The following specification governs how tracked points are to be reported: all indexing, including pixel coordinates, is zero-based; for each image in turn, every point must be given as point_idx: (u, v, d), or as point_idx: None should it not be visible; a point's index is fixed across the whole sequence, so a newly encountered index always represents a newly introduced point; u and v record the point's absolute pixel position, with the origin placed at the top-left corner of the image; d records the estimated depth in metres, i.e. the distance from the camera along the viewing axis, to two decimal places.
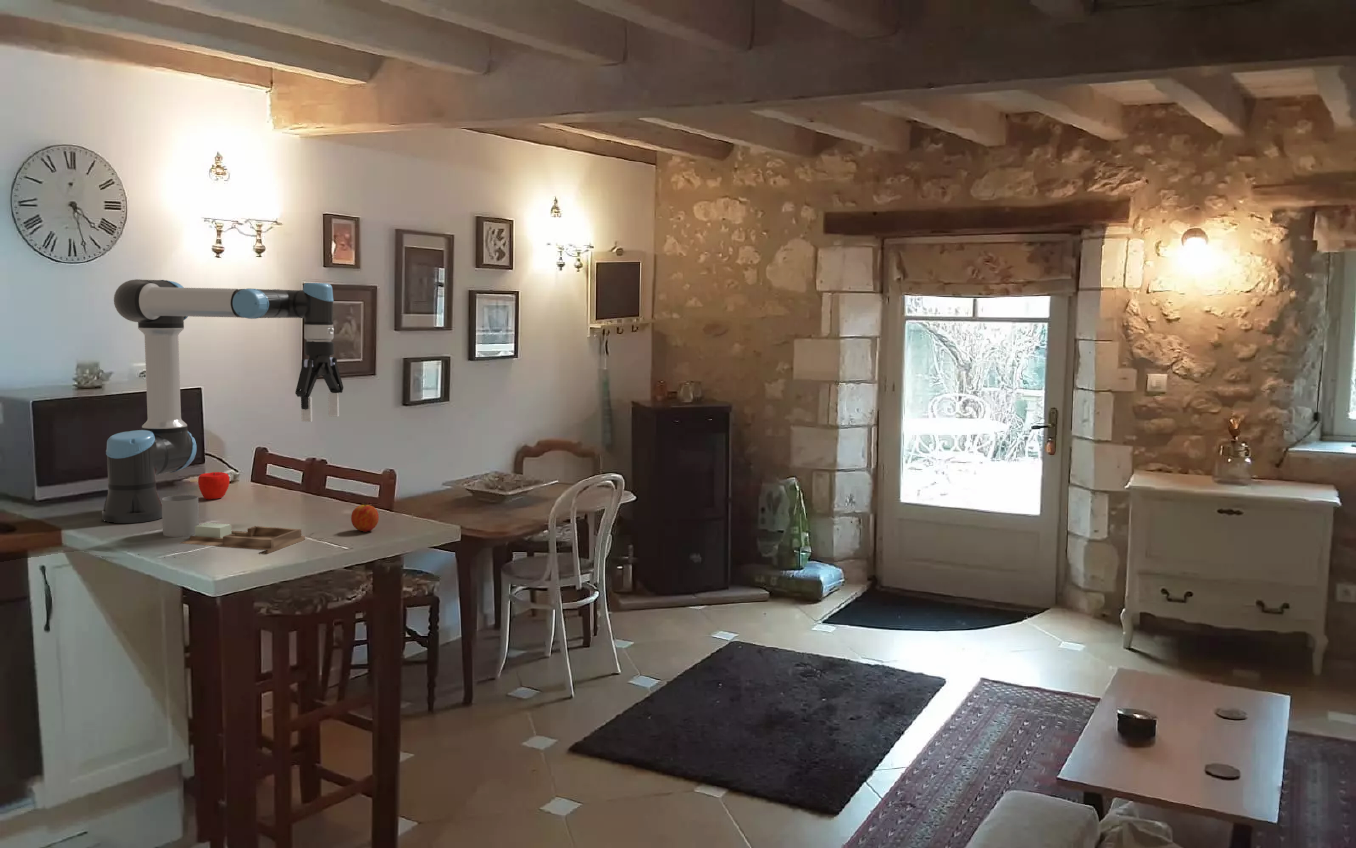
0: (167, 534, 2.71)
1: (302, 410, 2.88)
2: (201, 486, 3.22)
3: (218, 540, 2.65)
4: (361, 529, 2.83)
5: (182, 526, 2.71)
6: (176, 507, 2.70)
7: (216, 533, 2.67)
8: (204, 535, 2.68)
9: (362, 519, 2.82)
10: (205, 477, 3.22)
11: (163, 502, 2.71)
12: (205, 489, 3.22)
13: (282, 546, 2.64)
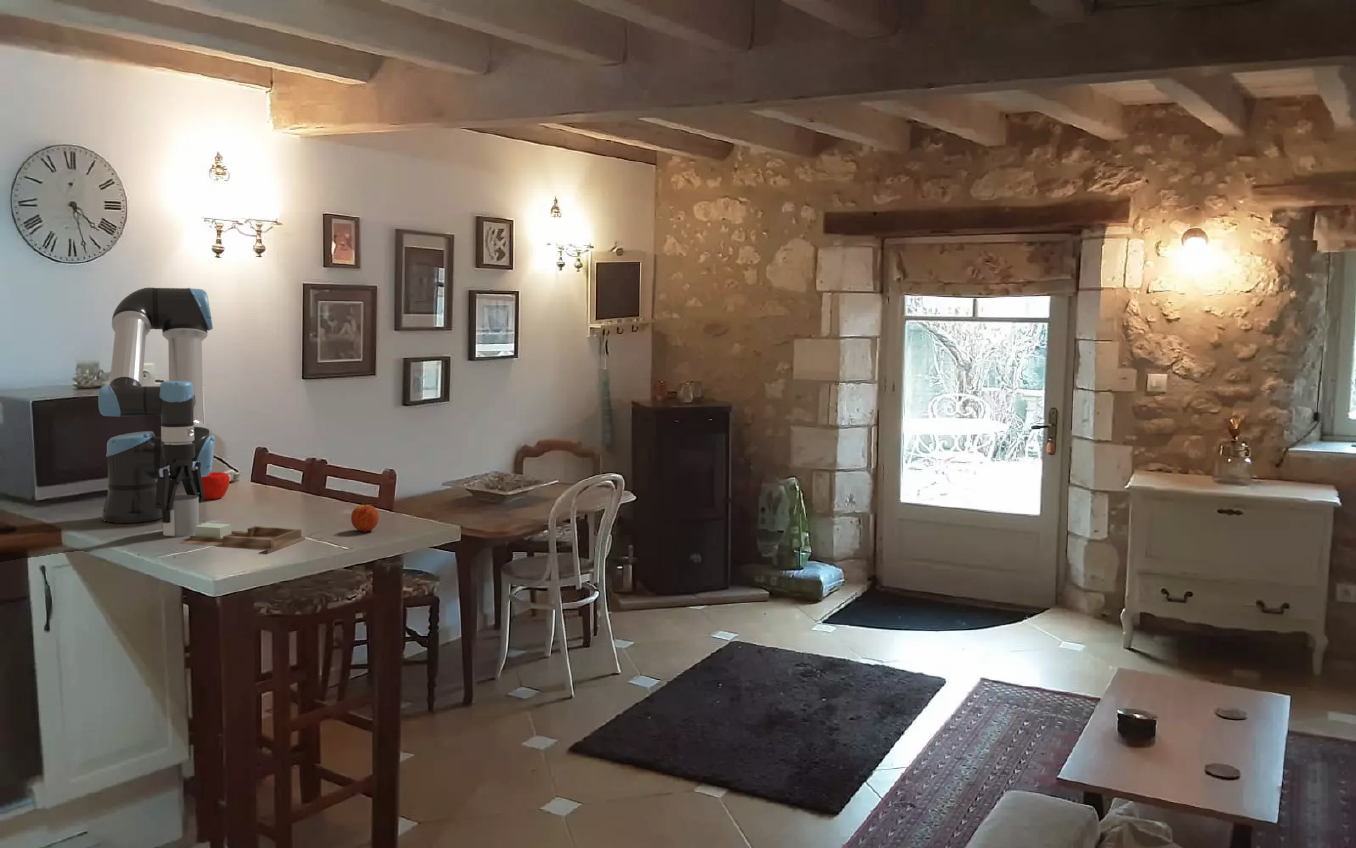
0: None
1: (164, 524, 2.70)
2: None
3: (218, 540, 2.65)
4: (361, 529, 2.83)
5: (182, 526, 2.71)
6: (176, 506, 2.70)
7: (216, 533, 2.67)
8: (204, 535, 2.68)
9: (362, 519, 2.82)
10: (205, 477, 3.22)
11: None
12: (205, 489, 3.22)
13: (282, 546, 2.64)
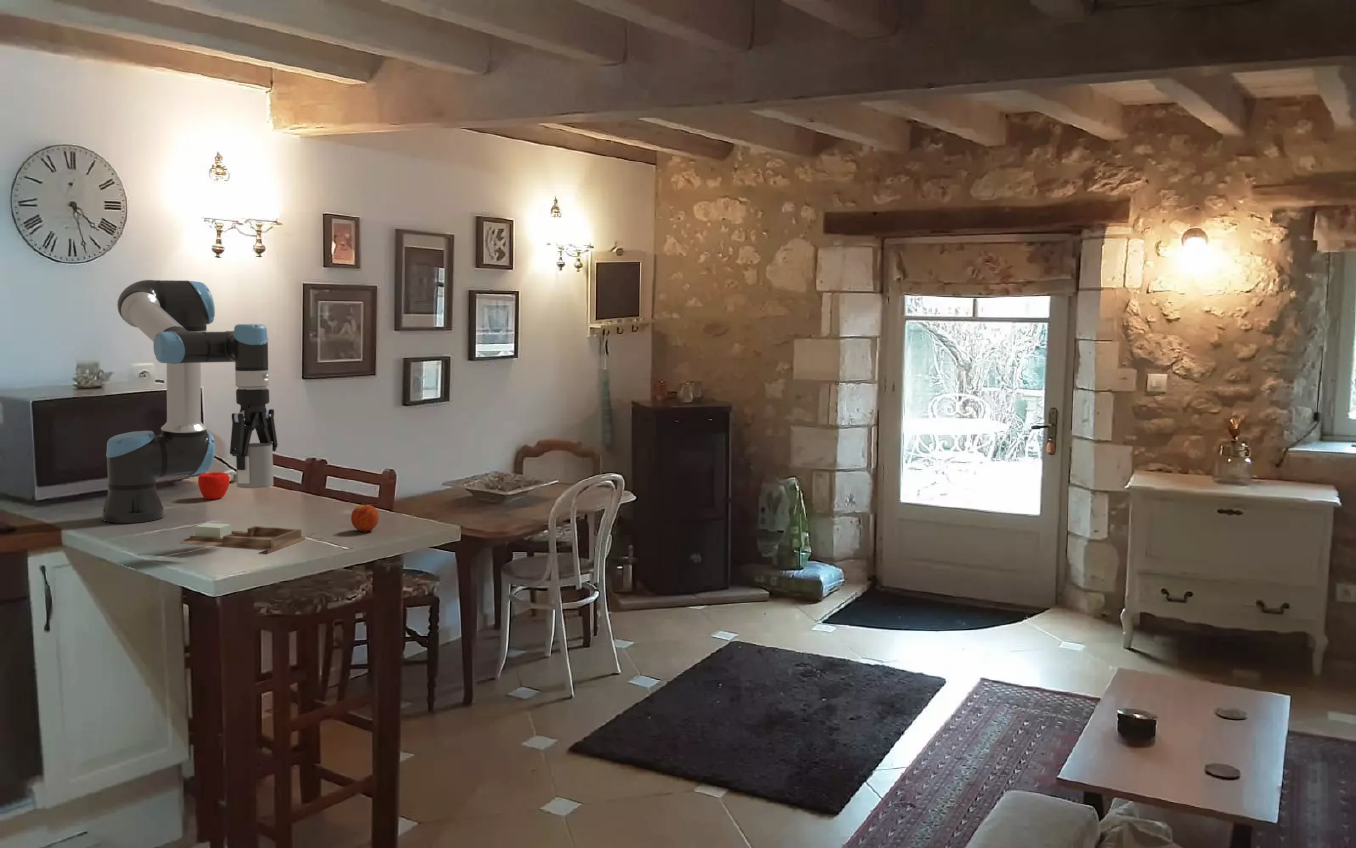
0: None
1: (238, 471, 2.61)
2: (201, 486, 3.22)
3: (218, 540, 2.65)
4: (361, 529, 2.83)
5: (257, 473, 2.62)
6: (251, 453, 2.61)
7: (216, 533, 2.67)
8: (204, 535, 2.68)
9: (362, 519, 2.82)
10: (205, 477, 3.22)
11: None
12: (205, 489, 3.22)
13: (282, 546, 2.64)
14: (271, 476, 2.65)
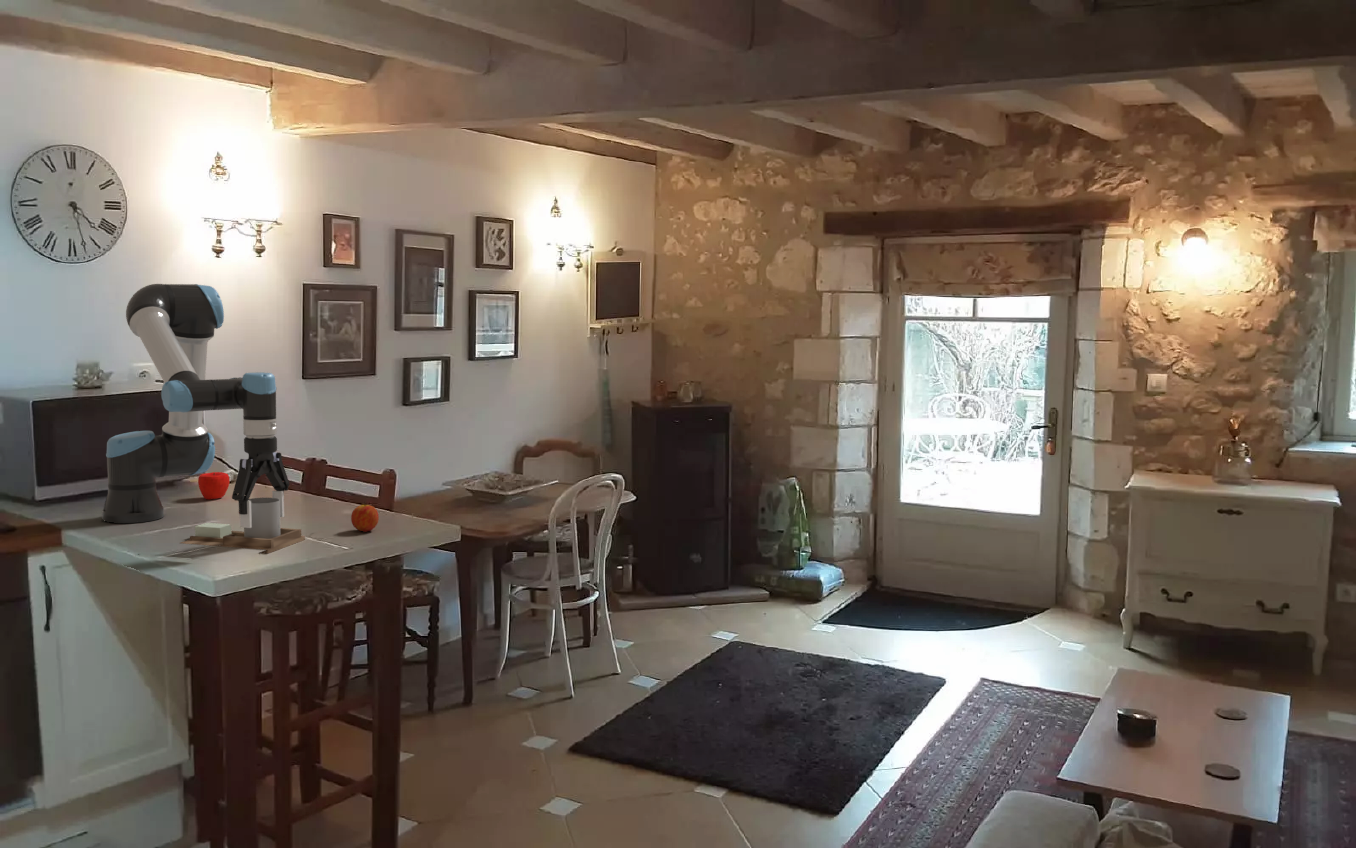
0: None
1: (240, 515, 2.60)
2: (201, 486, 3.22)
3: (218, 540, 2.65)
4: (361, 529, 2.83)
5: (264, 529, 2.64)
6: (258, 509, 2.63)
7: (216, 533, 2.67)
8: (204, 535, 2.68)
9: (362, 519, 2.82)
10: (205, 477, 3.22)
11: None
12: (205, 489, 3.22)
13: (282, 546, 2.64)
14: (278, 531, 2.67)
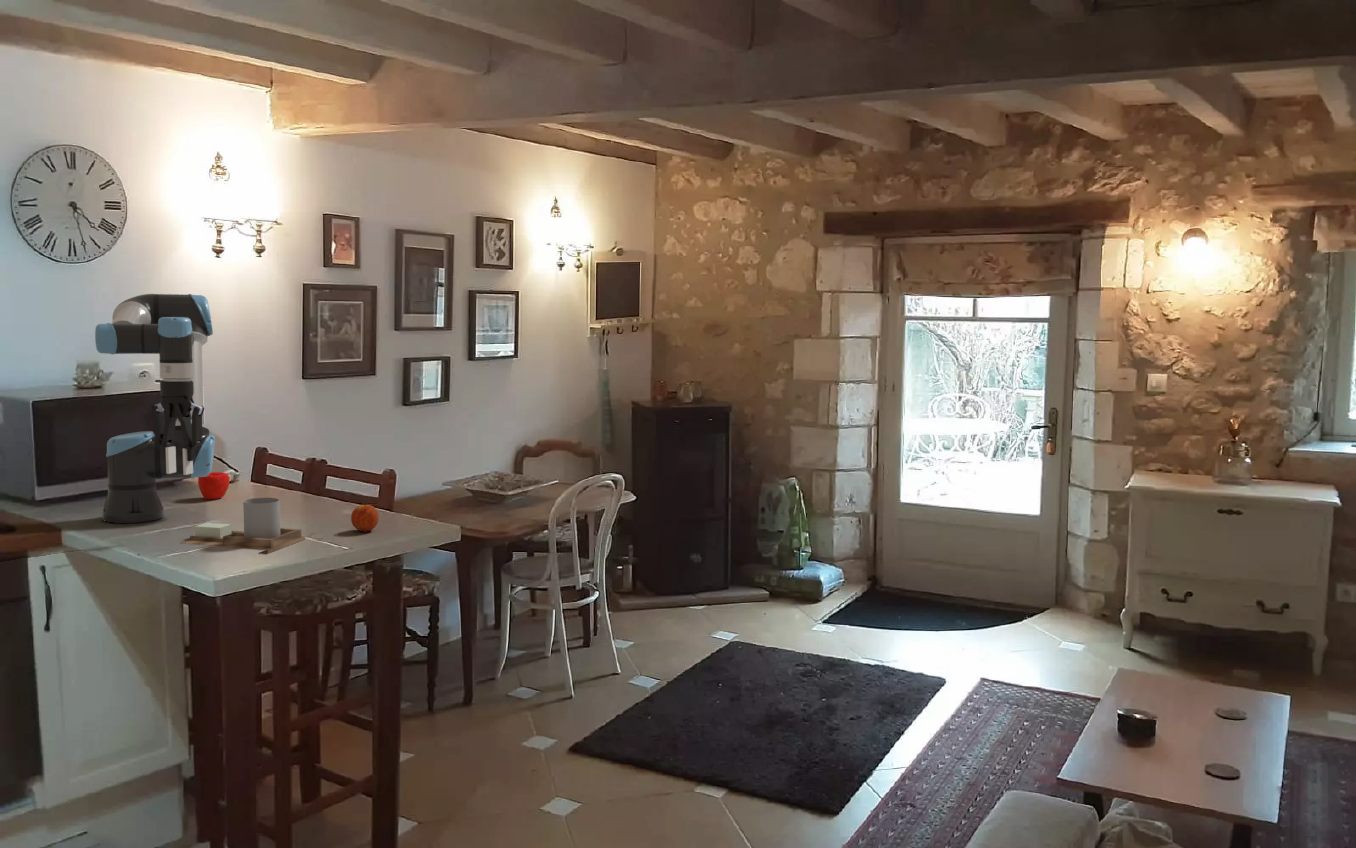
0: None
1: None
2: (201, 486, 3.22)
3: (218, 540, 2.65)
4: (361, 529, 2.83)
5: (264, 529, 2.64)
6: (258, 510, 2.63)
7: (216, 533, 2.67)
8: (204, 535, 2.68)
9: (362, 519, 2.82)
10: (205, 477, 3.22)
11: (245, 505, 2.63)
12: (205, 489, 3.22)
13: (282, 546, 2.64)
14: (278, 531, 2.67)
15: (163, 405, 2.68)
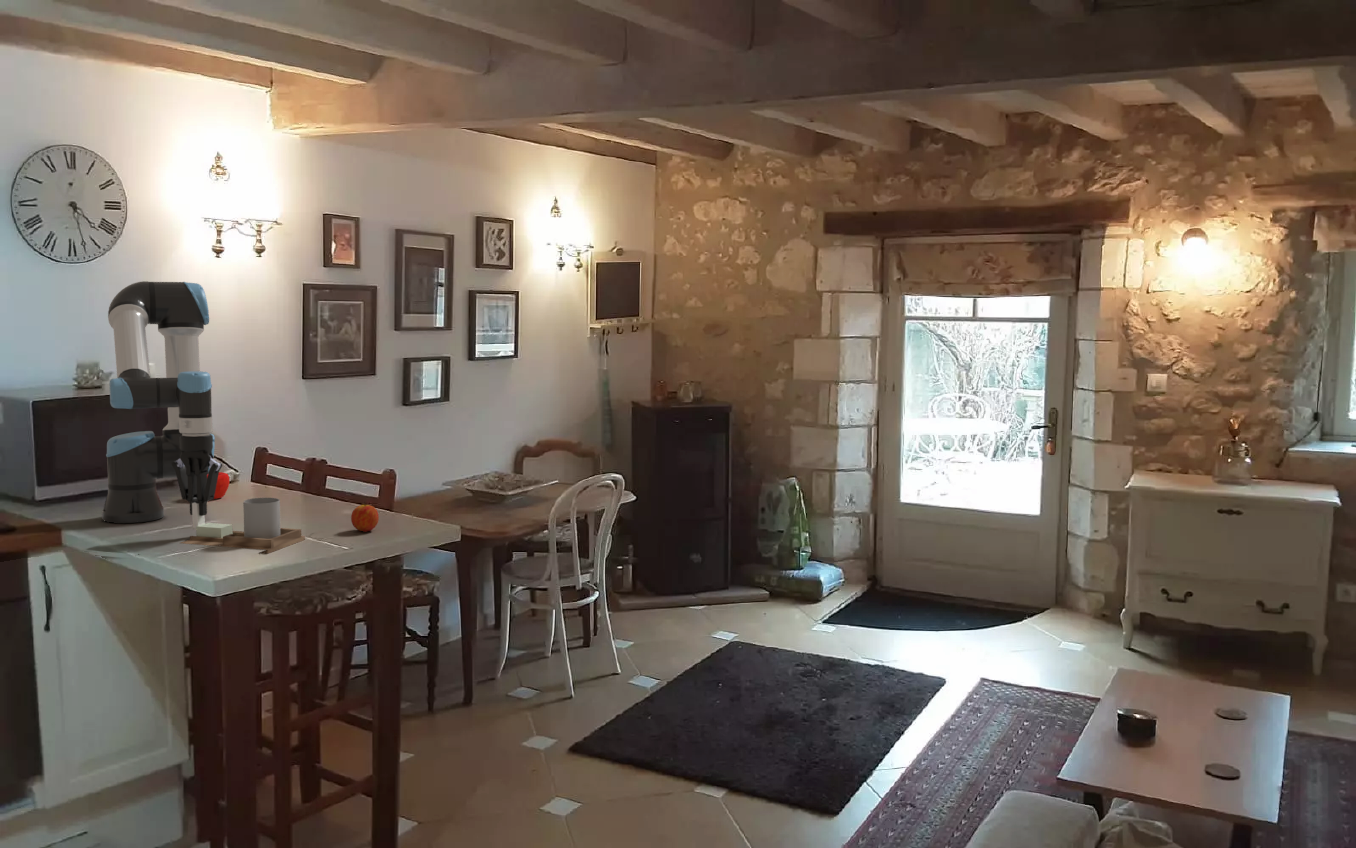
0: None
1: None
2: None
3: (218, 540, 2.65)
4: (361, 529, 2.83)
5: (264, 529, 2.64)
6: (258, 510, 2.63)
7: (217, 533, 2.67)
8: (205, 535, 2.68)
9: (362, 519, 2.82)
10: None
11: (245, 505, 2.63)
12: None
13: (282, 546, 2.64)
14: (278, 531, 2.67)
15: (183, 459, 2.68)
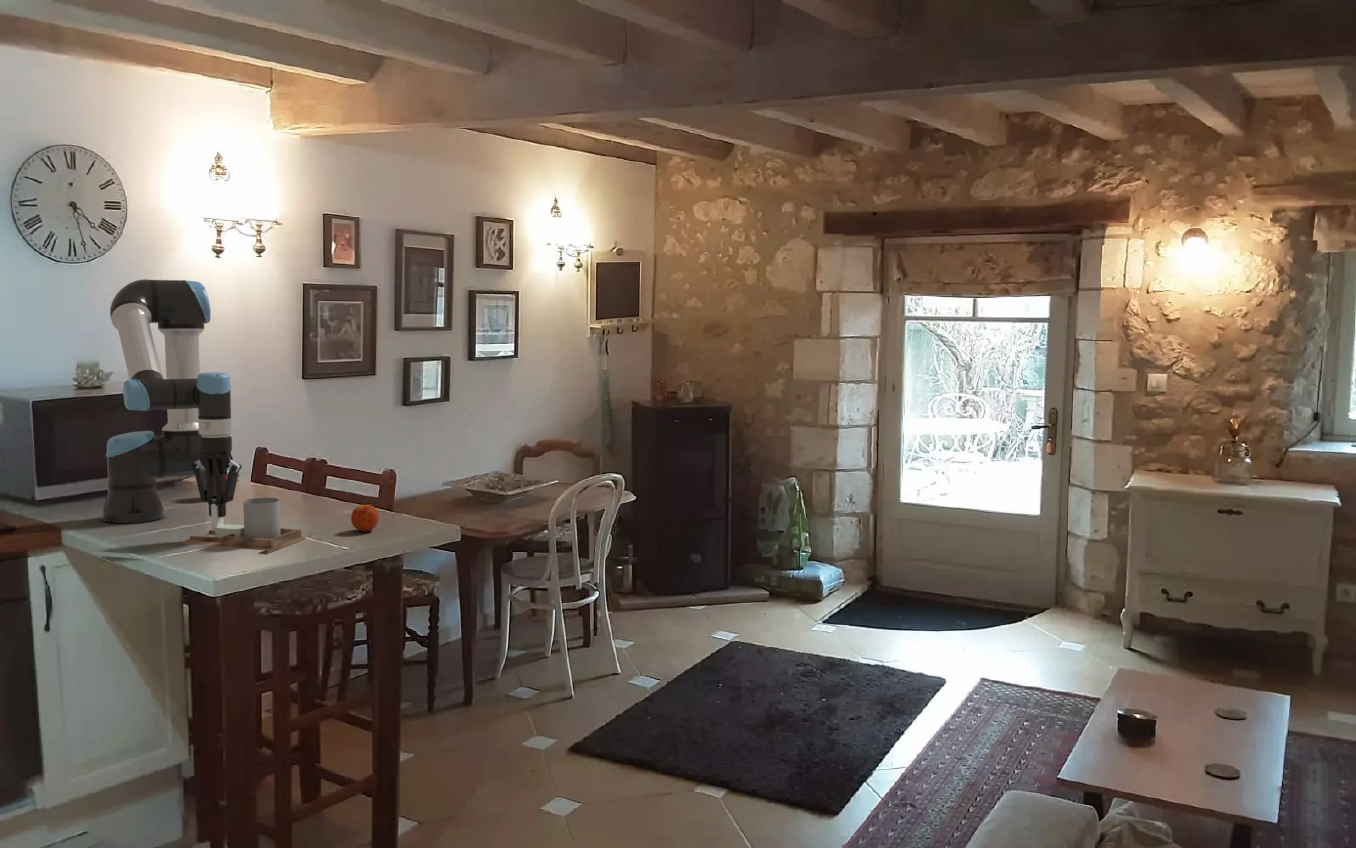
0: None
1: None
2: None
3: (218, 540, 2.65)
4: (361, 529, 2.83)
5: (264, 529, 2.64)
6: (258, 510, 2.63)
7: (236, 534, 2.66)
8: None
9: (362, 519, 2.82)
10: None
11: (245, 505, 2.63)
12: None
13: (282, 546, 2.64)
14: (278, 531, 2.67)
15: (202, 461, 2.67)
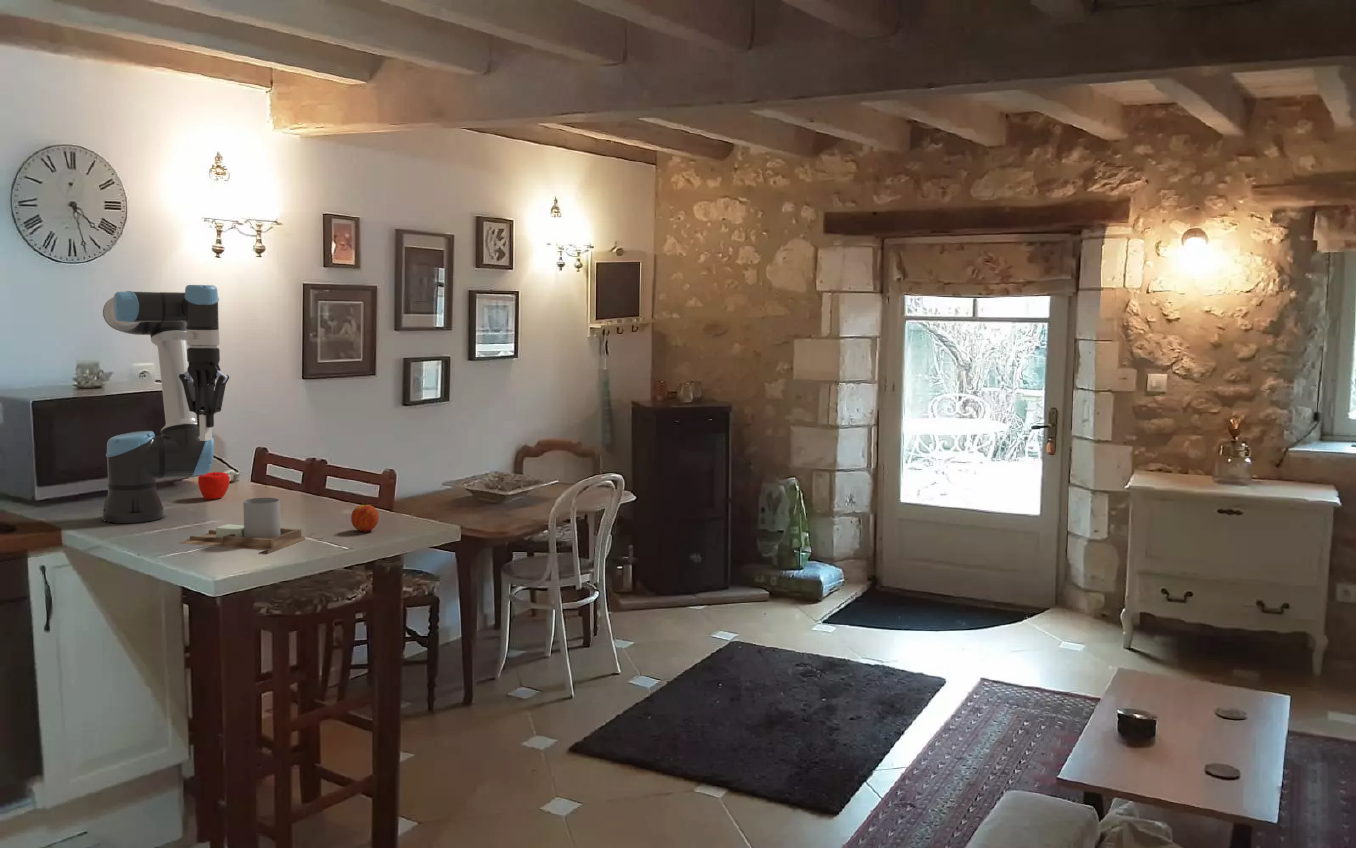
0: None
1: None
2: (201, 486, 3.22)
3: (218, 540, 2.65)
4: (361, 529, 2.83)
5: (264, 529, 2.64)
6: (258, 510, 2.63)
7: (237, 535, 2.66)
8: None
9: (362, 519, 2.82)
10: (205, 477, 3.22)
11: (245, 505, 2.63)
12: (205, 489, 3.22)
13: (282, 546, 2.64)
14: (278, 531, 2.67)
15: (190, 372, 2.72)
